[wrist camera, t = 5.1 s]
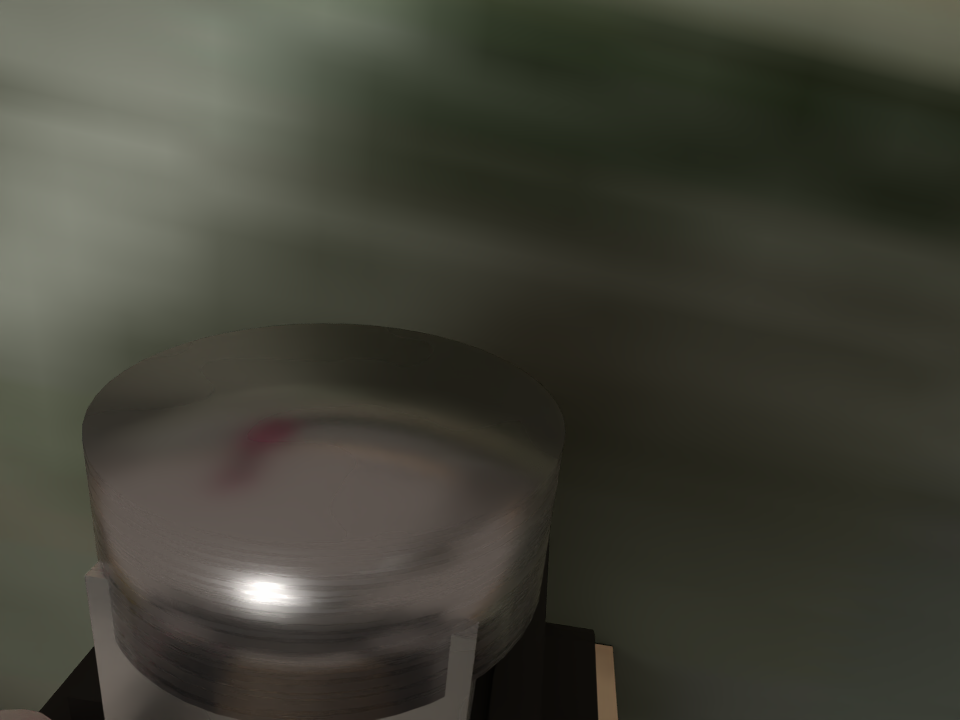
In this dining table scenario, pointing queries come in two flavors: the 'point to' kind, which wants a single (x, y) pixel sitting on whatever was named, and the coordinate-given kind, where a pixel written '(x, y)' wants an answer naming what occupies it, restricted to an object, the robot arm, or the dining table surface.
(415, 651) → the shaft
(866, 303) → the dining table surface
